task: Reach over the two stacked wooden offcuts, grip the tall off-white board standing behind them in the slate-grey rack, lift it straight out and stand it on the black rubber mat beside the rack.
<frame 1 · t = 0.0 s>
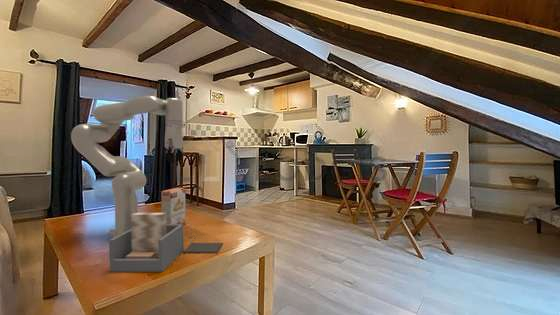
hand: (175, 161, 124), 37 cm above the table, tool pointing down, fingers open, 9 cm apart
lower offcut: (142, 267, 95), on the table, touching upper offcut
upper offcut: (141, 261, 95), point 2 cm above the table, touching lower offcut
tall board: (149, 260, 100), on the table
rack: (147, 262, 98), on the table
cracker box: (174, 227, 143), on the table
mat: (204, 248, 111), on the table
wooden block: (127, 226, 146), on the table
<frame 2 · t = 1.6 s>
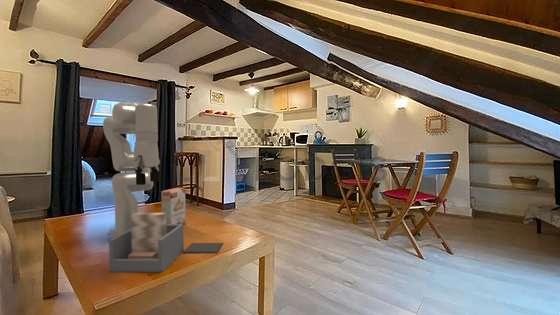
hand: (148, 182, 99), 30 cm above the table, tool pointing down, fingers open, 9 cm apart
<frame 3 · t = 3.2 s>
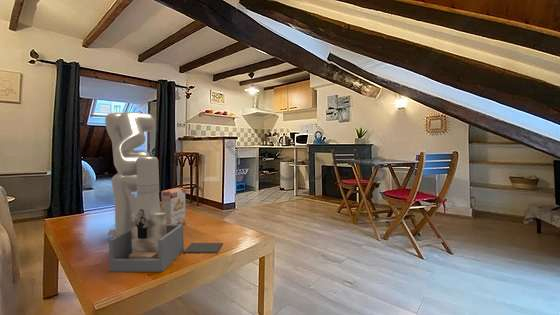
hand: (149, 234, 99), 10 cm above the table, tool pointing down, fingers open, 9 cm apart
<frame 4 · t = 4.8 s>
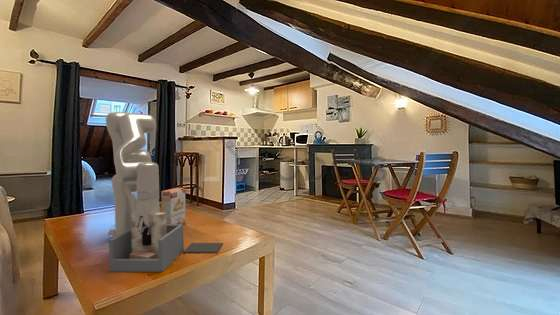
hand: (149, 243, 100), 7 cm above the table, tool pointing down, fingers closed on tall board, 3 cm apart
tall board: (149, 260, 100), on the table, touching gripper
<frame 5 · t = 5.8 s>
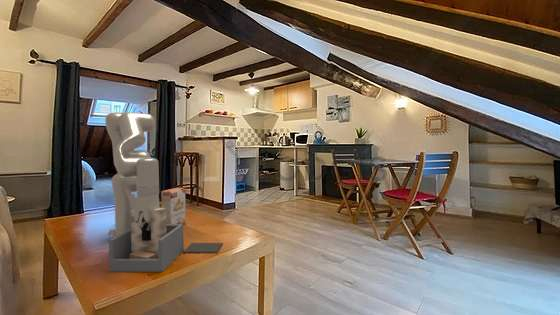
hand: (149, 238, 100), 8 cm above the table, tool pointing down, fingers closed on tall board, 3 cm apart
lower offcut: (143, 267, 95), on the table
upper offcut: (143, 260, 95), point 2 cm above the table
tall board: (149, 255, 100), point 2 cm above the table, touching gripper
everything else where it was.
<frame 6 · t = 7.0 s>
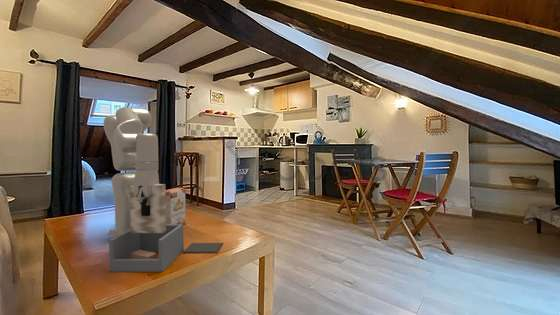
hand: (148, 214, 100), 18 cm above the table, tool pointing down, fingers closed on tall board, 3 cm apart
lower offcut: (144, 266, 96), on the table, touching upper offcut
upper offcut: (143, 259, 96), point 2 cm above the table, touching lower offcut
tall board: (148, 231, 100), point 11 cm above the table, touching gripper
everything else where it was.
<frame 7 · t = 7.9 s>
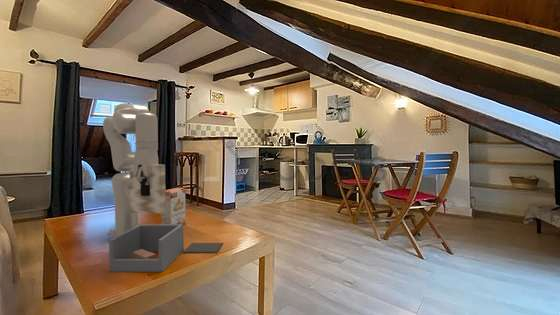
hand: (148, 194, 99), 25 cm above the table, tool pointing down, fingers closed on tall board, 3 cm apart
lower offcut: (144, 266, 96), on the table
upper offcut: (143, 259, 96), point 2 cm above the table
tall board: (148, 212, 100), point 19 cm above the table, touching gripper
everything else where it was.
when the fingers open (8 cm above the table, at t = 14.9 s): tall board stays where it is, resting on mat.
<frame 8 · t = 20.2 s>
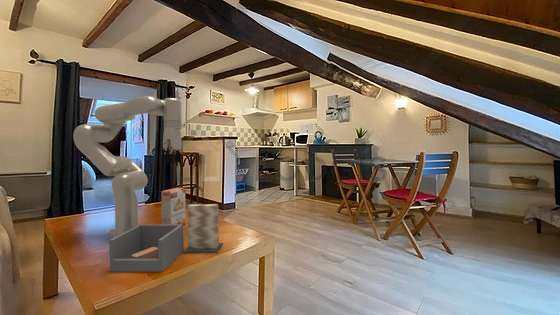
hand: (173, 162, 122), 36 cm above the table, tool pointing down, fingers open, 9 cm apart
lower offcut: (146, 264, 97), on the table, touching upper offcut
upper offcut: (145, 258, 97), point 2 cm above the table, touching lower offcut
tall board: (203, 247, 111), point 1 cm above the table, touching mat
everything else where it was.
at the end: tall board inside the target area on the mat (0.0 cm from its centre), point 0.6 cm above the mat's base; tall board tilted 0°; the gripper is holding nothing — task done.
